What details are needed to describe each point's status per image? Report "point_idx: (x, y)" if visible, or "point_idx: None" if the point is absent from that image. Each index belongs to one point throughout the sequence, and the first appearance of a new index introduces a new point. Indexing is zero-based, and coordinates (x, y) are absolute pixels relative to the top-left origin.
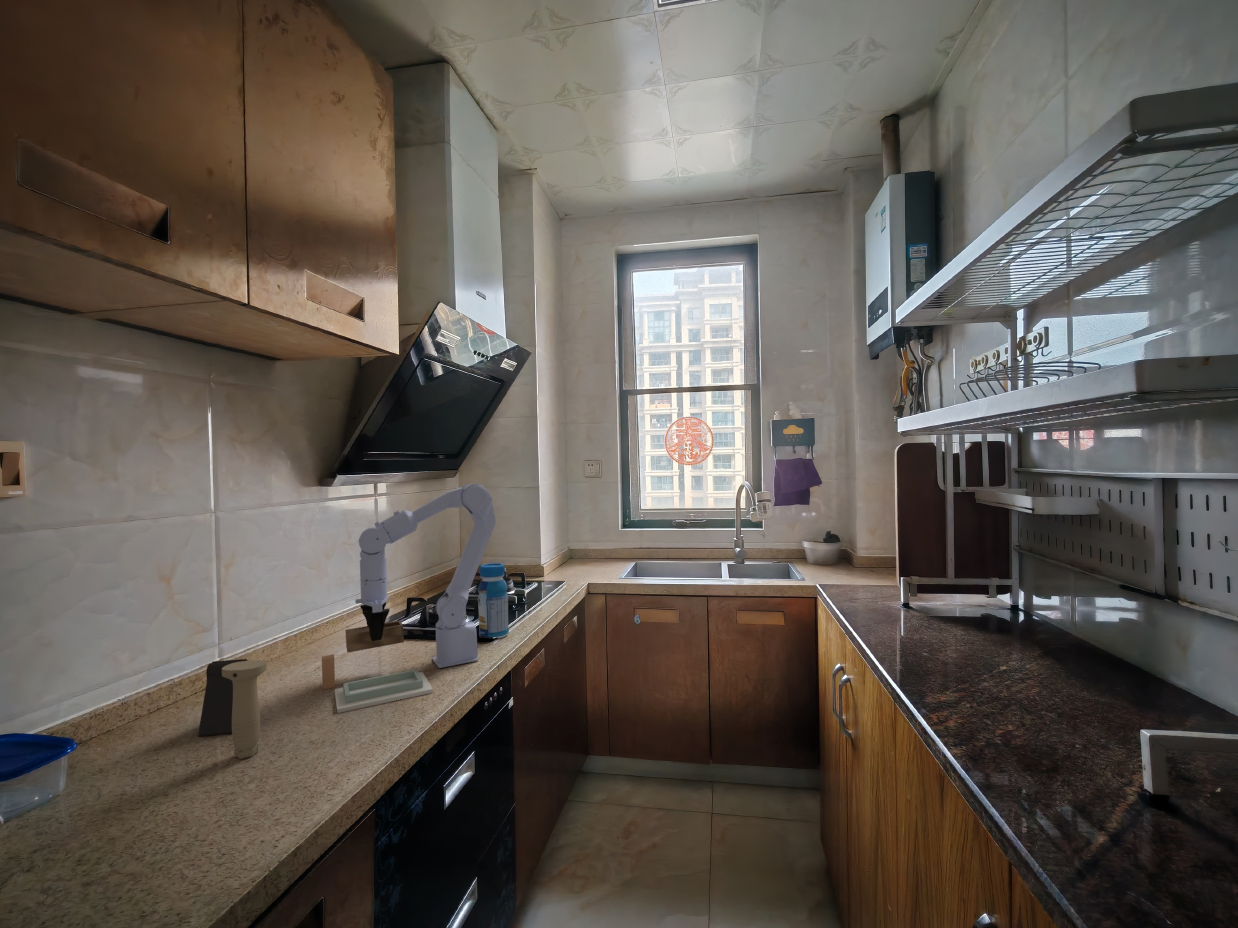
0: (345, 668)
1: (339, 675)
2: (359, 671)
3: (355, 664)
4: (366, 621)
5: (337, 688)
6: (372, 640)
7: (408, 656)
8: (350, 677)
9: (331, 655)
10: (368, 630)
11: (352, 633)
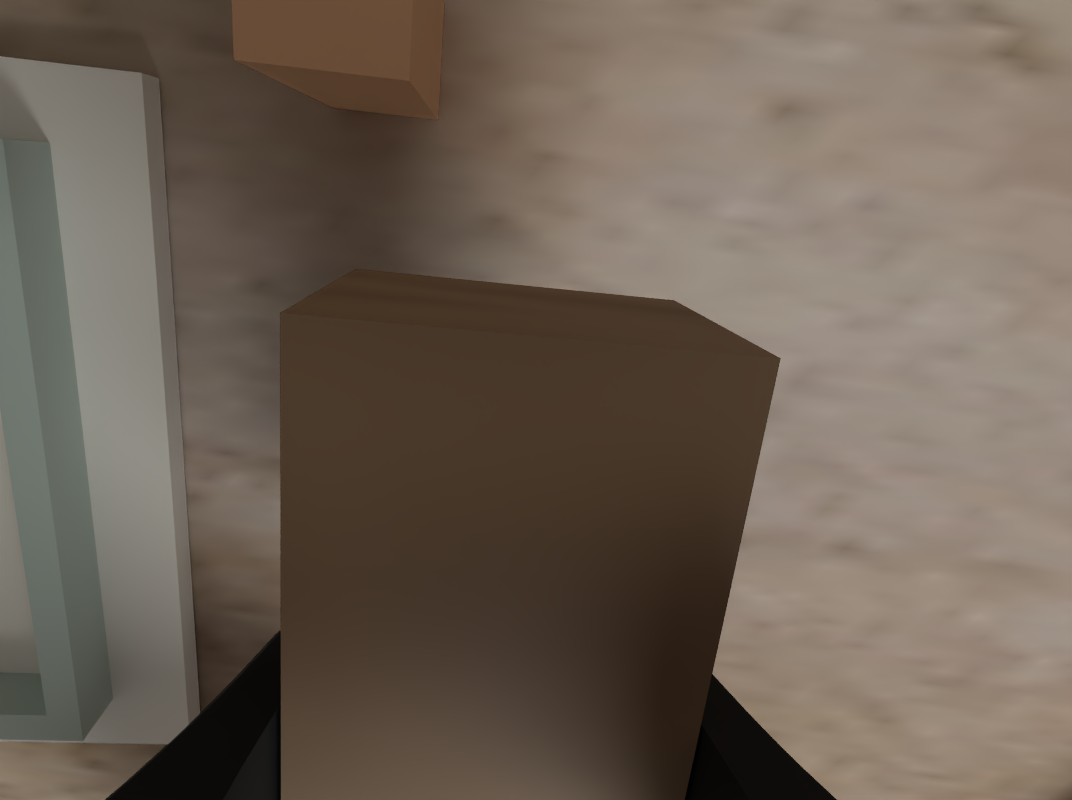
0: (798, 273)
1: (638, 195)
2: None
3: (841, 363)
4: (766, 791)
5: (142, 100)
6: (277, 637)
7: None
8: (511, 271)
9: (369, 38)
10: (346, 709)
11: (332, 438)
